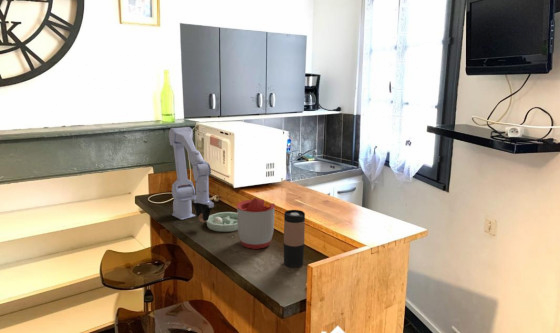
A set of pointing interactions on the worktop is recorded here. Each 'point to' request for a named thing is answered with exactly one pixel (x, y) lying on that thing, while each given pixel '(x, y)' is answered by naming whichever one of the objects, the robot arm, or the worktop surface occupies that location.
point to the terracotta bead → (201, 218)
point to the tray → (221, 226)
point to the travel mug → (294, 238)
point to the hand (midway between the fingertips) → (202, 218)
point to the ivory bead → (218, 220)
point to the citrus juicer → (255, 223)
